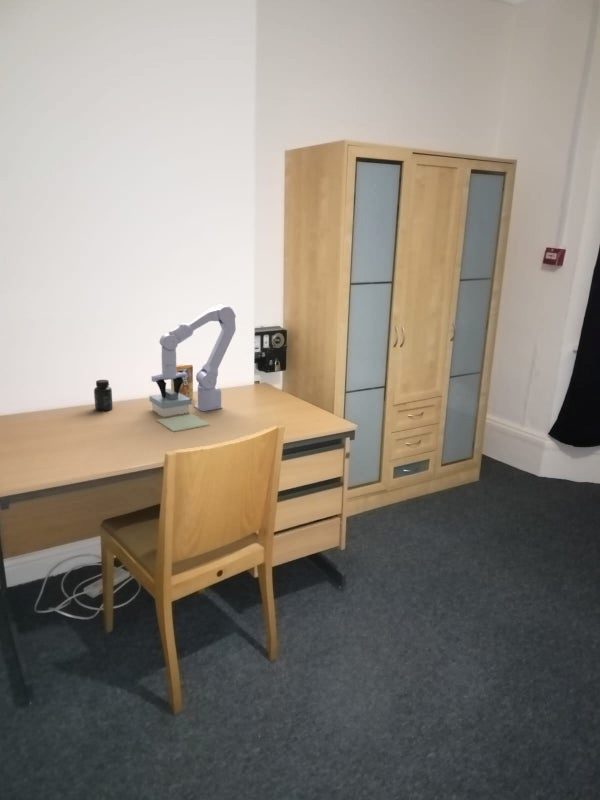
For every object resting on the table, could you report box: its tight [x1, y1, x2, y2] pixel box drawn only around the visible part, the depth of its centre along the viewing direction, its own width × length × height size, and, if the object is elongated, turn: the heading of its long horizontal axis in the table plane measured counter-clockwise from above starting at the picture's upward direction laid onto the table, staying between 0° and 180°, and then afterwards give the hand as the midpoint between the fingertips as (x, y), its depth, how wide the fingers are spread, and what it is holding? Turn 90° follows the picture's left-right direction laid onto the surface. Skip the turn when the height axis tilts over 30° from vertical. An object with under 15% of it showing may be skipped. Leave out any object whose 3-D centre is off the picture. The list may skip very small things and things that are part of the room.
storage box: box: [151, 402, 190, 418], centre depth 233 cm, size 11×11×5 cm
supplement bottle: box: [93, 379, 114, 412], centre depth 232 cm, size 7×7×12 cm
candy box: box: [170, 363, 194, 400], centre depth 250 cm, size 9×4×15 cm, turn 129°
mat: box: [156, 413, 210, 433], centre depth 221 cm, size 15×15×1 cm
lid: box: [149, 388, 192, 409], centre depth 232 cm, size 12×12×5 cm
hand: (170, 396), depth 232 cm, fingers open, 5 cm apart
